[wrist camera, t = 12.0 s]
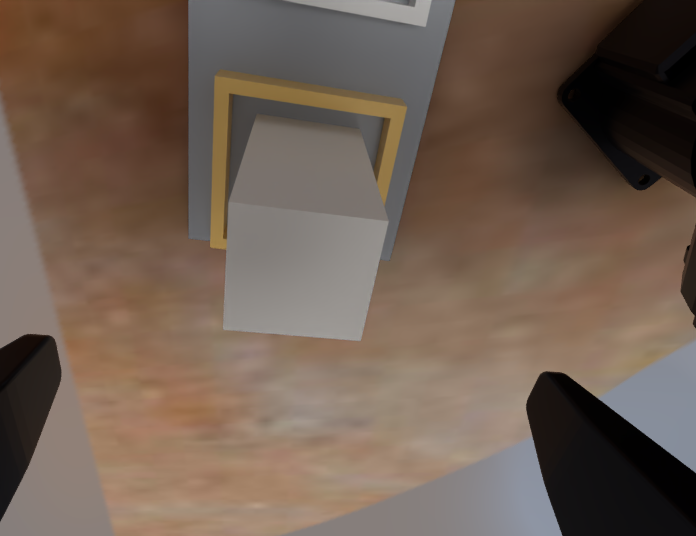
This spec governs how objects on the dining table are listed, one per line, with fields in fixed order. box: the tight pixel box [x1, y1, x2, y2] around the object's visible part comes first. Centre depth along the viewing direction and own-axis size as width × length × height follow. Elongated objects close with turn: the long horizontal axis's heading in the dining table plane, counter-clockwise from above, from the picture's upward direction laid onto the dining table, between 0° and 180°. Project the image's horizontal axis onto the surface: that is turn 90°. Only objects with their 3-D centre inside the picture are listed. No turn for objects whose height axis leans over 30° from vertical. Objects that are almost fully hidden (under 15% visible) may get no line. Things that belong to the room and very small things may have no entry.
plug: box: [223, 114, 389, 341], centre depth 17 cm, size 5×4×8 cm
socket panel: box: [188, 0, 455, 261], centre depth 17 cm, size 17×9×2 cm, turn 170°
